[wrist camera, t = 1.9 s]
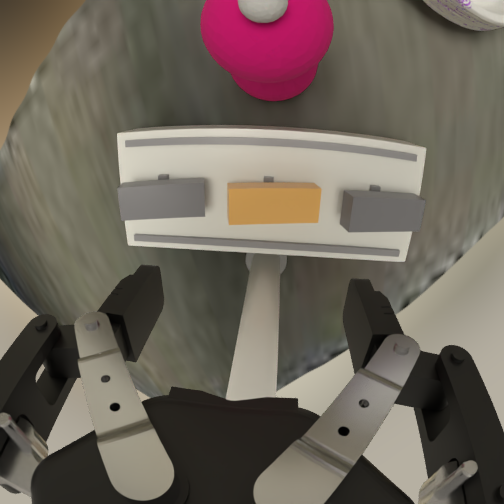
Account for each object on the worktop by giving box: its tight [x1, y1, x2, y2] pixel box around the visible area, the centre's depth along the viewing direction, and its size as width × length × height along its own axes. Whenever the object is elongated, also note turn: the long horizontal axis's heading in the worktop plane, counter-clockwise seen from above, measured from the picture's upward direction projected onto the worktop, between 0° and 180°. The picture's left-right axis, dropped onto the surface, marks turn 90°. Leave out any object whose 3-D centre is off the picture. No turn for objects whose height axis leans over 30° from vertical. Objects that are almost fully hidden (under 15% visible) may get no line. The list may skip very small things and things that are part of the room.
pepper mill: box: [201, 0, 334, 101], centre depth 17 cm, size 7×7×20 cm
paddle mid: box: [227, 182, 322, 225], centre depth 24 cm, size 7×3×2 cm, turn 89°
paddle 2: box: [340, 190, 426, 233], centre depth 24 cm, size 7×3×2 cm, turn 89°
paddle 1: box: [118, 178, 205, 221], centre depth 25 cm, size 7×3×2 cm, turn 89°
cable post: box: [226, 253, 287, 401], centre depth 24 cm, size 4×4×22 cm
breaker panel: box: [117, 125, 426, 262], centre depth 28 cm, size 27×11×6 cm, turn 88°
